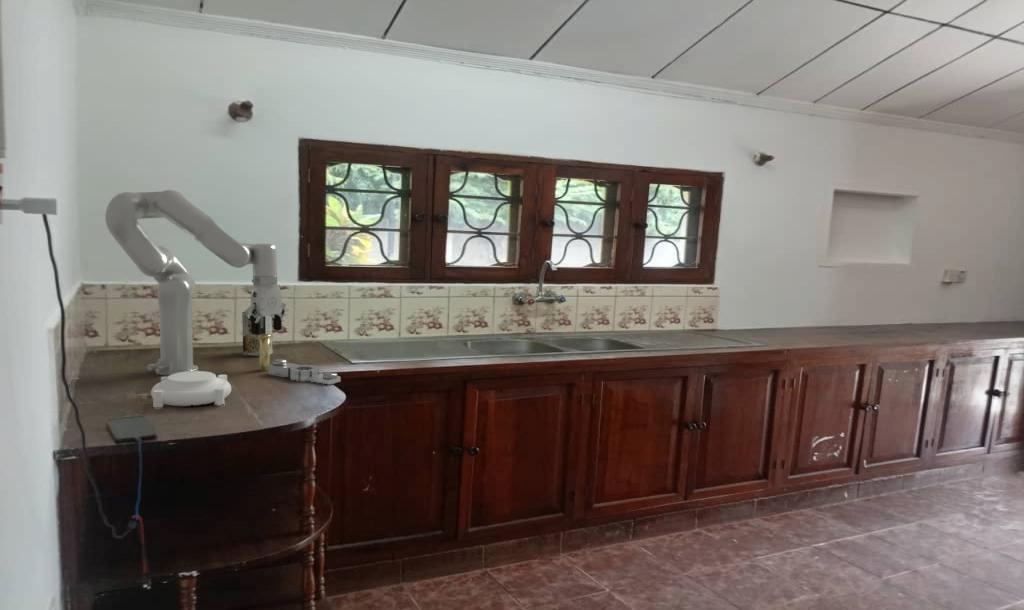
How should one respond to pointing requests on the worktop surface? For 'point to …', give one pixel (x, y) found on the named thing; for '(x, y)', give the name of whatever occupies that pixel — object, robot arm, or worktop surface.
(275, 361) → the link
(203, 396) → the round stand with pegs
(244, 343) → the coffee box
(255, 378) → the worktop surface
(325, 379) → the link
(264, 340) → the pin
